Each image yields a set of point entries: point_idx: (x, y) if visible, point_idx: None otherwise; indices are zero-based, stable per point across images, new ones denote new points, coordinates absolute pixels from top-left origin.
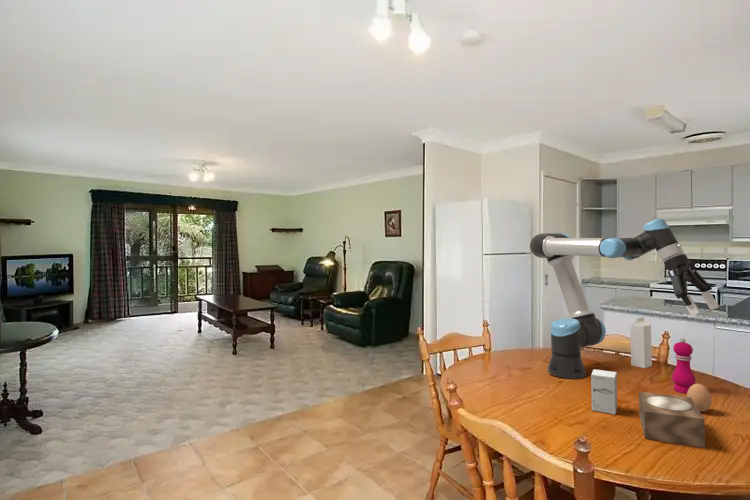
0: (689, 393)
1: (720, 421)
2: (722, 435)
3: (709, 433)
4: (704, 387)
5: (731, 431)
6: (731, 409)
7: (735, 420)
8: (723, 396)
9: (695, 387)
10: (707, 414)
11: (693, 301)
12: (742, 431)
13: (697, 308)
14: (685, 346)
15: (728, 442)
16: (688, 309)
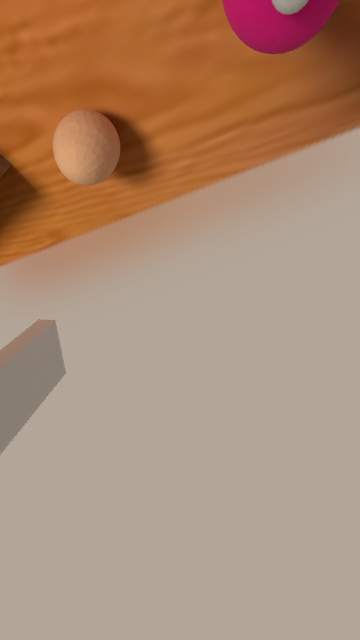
0: (53, 141)
1: (86, 191)
2: (26, 224)
3: (8, 209)
4: (83, 183)
5: (60, 224)
6: (190, 167)
7: (124, 204)
8: (303, 93)
9: (60, 165)
10: None
11: (10, 438)
12: (81, 233)
13: (45, 392)
14: (246, 32)
15: (13, 240)
16: (10, 347)
